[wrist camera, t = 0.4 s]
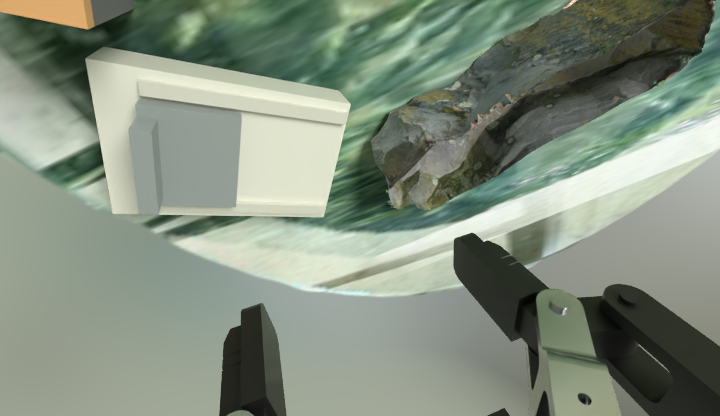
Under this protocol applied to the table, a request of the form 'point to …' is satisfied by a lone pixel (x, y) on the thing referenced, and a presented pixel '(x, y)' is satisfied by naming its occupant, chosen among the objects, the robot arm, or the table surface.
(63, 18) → the plug
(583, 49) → the stone
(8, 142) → the table surface
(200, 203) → the grey l-shaped block
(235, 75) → the socket block
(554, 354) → the robot arm
